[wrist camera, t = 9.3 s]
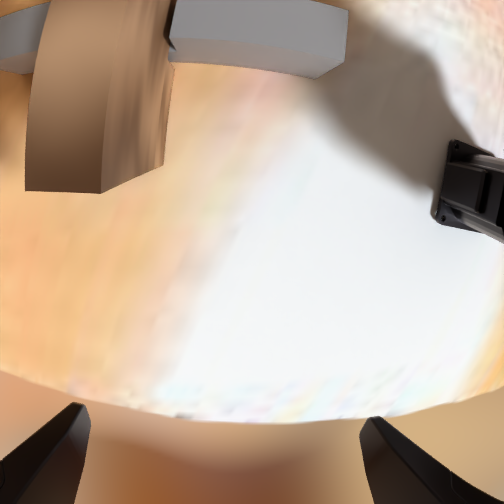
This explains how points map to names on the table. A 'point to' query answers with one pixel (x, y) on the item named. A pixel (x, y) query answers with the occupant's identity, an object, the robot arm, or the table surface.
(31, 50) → the notched gray bar
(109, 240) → the table surface
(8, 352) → the table surface
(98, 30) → the walnut slat
